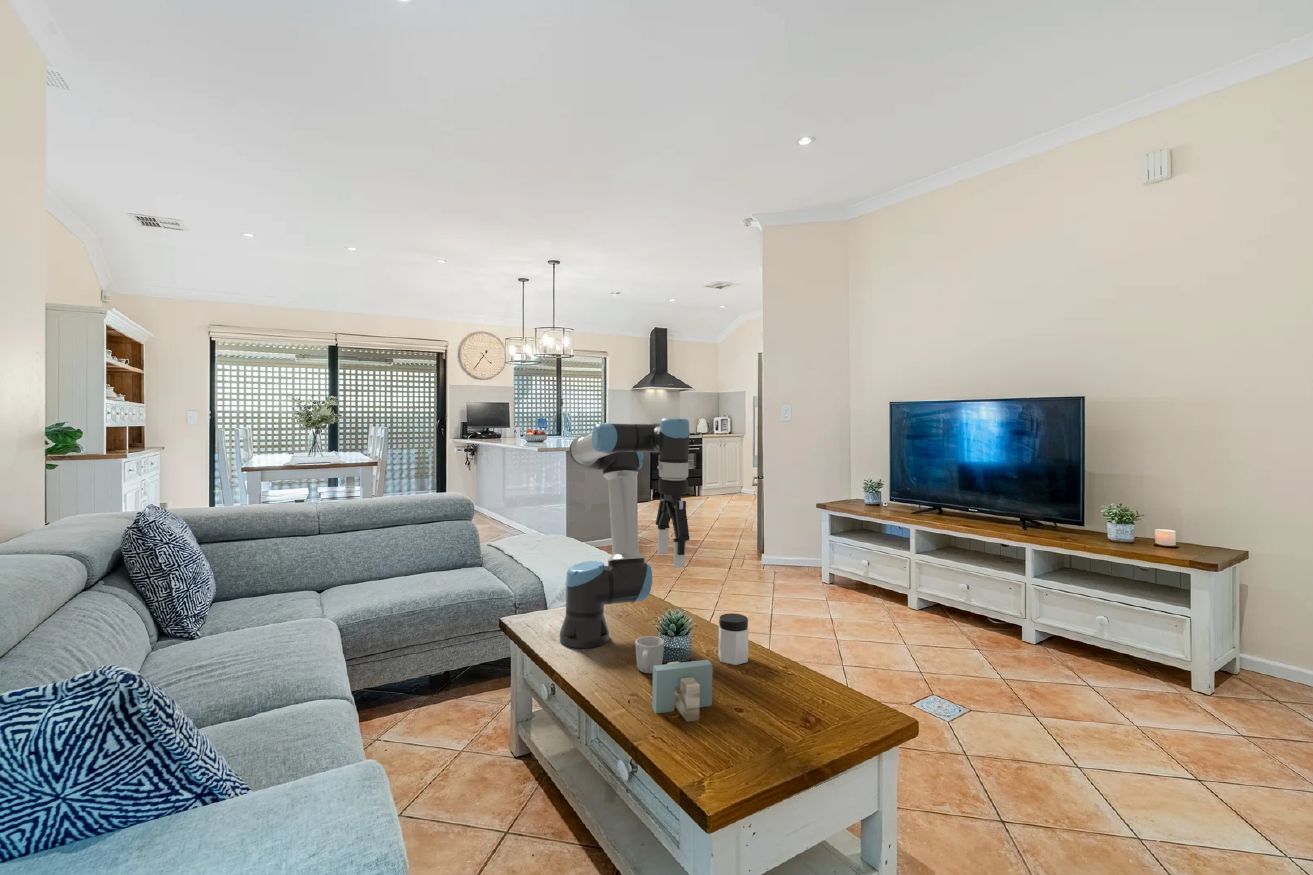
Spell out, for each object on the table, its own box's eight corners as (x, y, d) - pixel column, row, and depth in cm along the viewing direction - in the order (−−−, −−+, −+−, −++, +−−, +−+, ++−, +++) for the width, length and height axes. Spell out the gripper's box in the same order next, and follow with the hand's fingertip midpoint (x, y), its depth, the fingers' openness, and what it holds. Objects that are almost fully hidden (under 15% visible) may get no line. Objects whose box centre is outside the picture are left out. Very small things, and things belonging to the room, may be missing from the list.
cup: (658, 682, 156) (659, 651, 156) (629, 678, 157) (629, 648, 157) (666, 665, 166) (666, 637, 166) (638, 662, 168) (638, 634, 168)
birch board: (666, 694, 149) (667, 662, 148) (678, 692, 150) (678, 661, 149) (686, 721, 135) (687, 686, 135) (699, 719, 136) (699, 685, 136)
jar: (716, 653, 176) (717, 612, 176) (744, 653, 176) (744, 612, 176) (720, 665, 167) (721, 622, 167) (749, 665, 167) (750, 623, 167)
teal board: (652, 707, 142) (652, 665, 142) (706, 700, 146) (707, 659, 146) (656, 713, 139) (656, 670, 139) (711, 705, 143) (712, 664, 143)
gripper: (645, 472, 164) (643, 549, 166) (674, 485, 141) (671, 574, 142) (671, 472, 167) (669, 547, 168) (704, 484, 143) (701, 572, 144)
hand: (670, 560), depth 155 cm, fingers open, 13 cm apart
